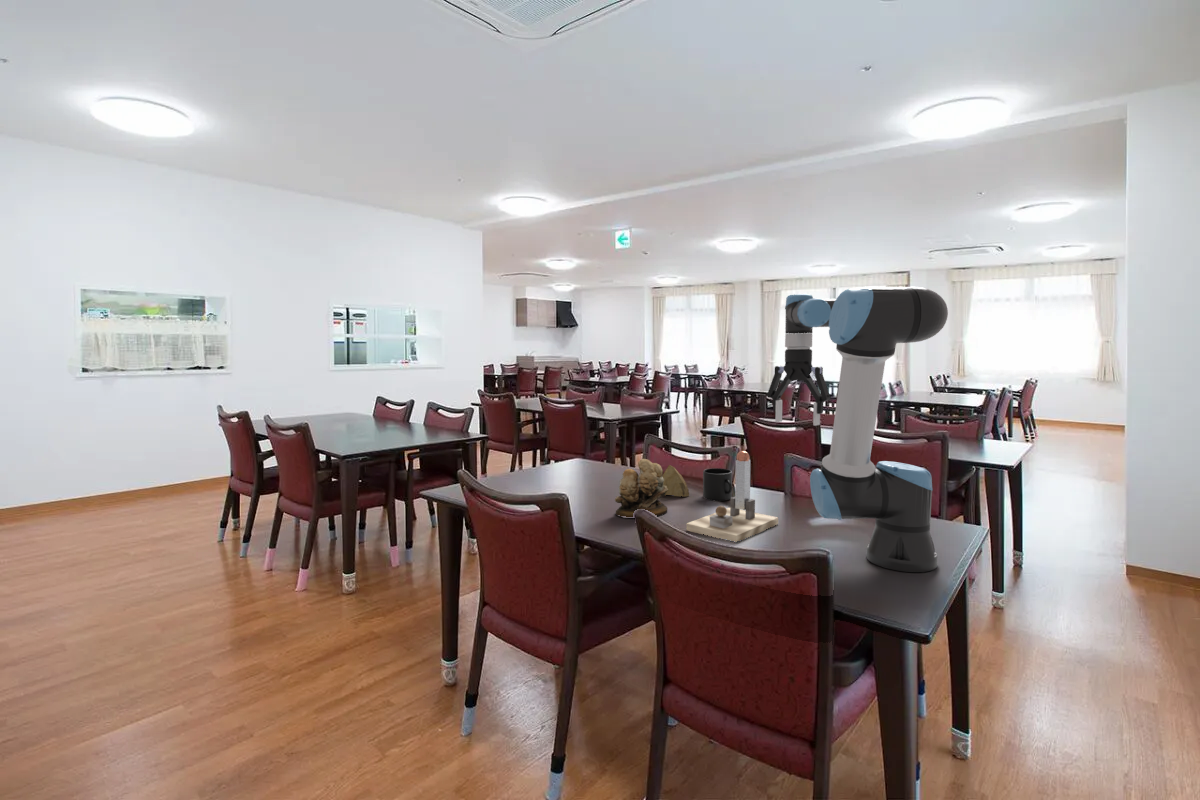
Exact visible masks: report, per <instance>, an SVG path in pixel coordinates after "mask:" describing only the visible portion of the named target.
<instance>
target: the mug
mask: <svg viewBox="0 0 1200 800" xmlns="http://www.w3.org/2000/svg"><path fill="white" fill-rule="evenodd" d="M702 473H703V474H702V490H703V491H702V497H703V499H704V500H708V501H713V500H715V501H714V502H723V501H730V498H732V497H733V496H732V494H733V474H732V473H733V472H732V470H731V469H726V468H721V467H719V468H717V467H716V468H715V467H714V468H713V467H712V468H705V469H704V470H703V471H702Z"/></svg>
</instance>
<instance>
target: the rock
mask: <svg viewBox="0 0 1200 800" xmlns="http://www.w3.org/2000/svg"><path fill="white" fill-rule="evenodd" d="M662 477H663V479H664V482H663V486H667V488H668V491H667V492H666V494H665V495H664V496H666V495H674V496H673V497H681V496H682V497H686V498H687V497H689V496H690V492H689V491H690V489H689V487H688V484H687V482H686V481H685V479H684V477H683V476H682V474H680V472H679V471H678V470H677V469H676V467H675V466H673V465H671V464H669V465H668V466H667V468H666V469H665V471H663V475H662ZM682 497H681V498H682Z"/></svg>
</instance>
